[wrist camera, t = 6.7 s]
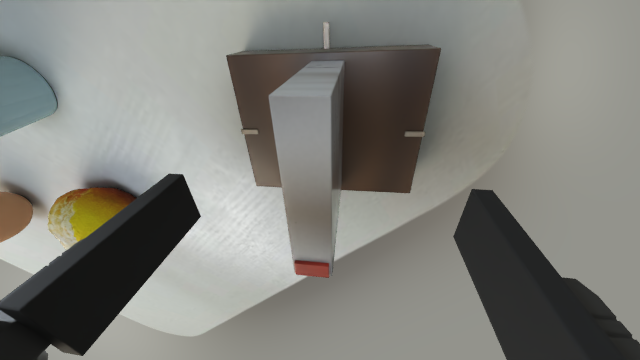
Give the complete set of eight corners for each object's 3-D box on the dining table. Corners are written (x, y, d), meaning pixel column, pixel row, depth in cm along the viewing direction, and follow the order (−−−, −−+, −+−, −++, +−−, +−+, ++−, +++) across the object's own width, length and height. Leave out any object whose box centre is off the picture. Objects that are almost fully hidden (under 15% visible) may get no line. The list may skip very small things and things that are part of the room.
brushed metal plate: (311, 60, 15) (265, 96, 8) (344, 60, 15) (330, 97, 8) (316, 184, 21) (293, 276, 13) (341, 186, 21) (331, 280, 13)
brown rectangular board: (435, 17, 16) (451, 15, 13) (402, 188, 24) (408, 208, 21) (237, 27, 18) (216, 27, 15) (268, 182, 25) (257, 200, 23)
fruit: (69, 161, 27) (10, 214, 21) (169, 189, 32) (144, 238, 26) (71, 218, 33) (25, 272, 27) (156, 234, 37) (133, 284, 31)
